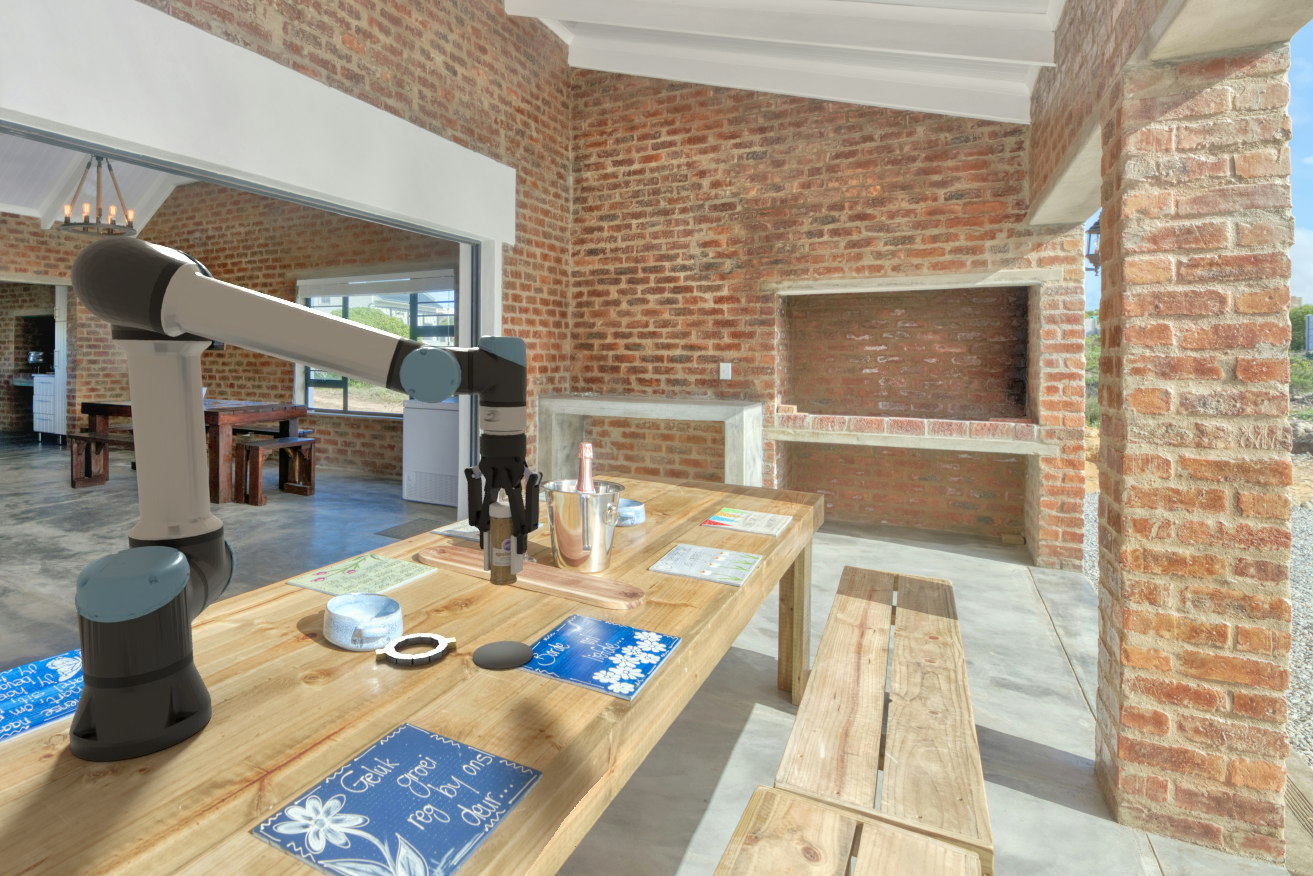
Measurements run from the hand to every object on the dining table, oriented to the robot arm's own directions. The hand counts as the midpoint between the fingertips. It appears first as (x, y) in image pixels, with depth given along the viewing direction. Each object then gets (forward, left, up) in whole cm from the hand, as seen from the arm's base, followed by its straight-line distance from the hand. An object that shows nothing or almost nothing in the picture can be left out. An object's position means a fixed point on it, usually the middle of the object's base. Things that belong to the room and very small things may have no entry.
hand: (503, 569), depth 114 cm
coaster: (0, 0, -15) cm, 15 cm away
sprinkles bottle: (0, 0, -2) cm, 2 cm away
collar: (-13, +7, -15) cm, 21 cm away
